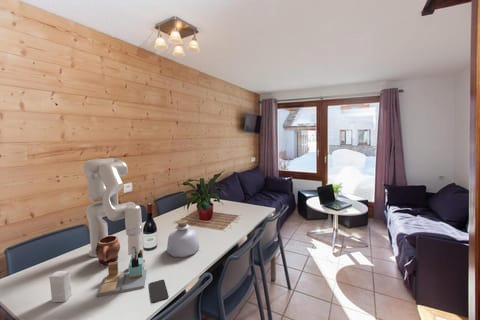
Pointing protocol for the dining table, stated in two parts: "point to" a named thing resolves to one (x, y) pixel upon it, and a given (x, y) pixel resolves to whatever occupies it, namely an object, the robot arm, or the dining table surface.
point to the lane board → (122, 284)
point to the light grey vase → (182, 241)
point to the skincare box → (60, 286)
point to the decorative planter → (107, 249)
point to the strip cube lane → (143, 265)
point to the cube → (136, 268)
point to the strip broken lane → (112, 278)
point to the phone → (158, 291)
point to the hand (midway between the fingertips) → (136, 261)
